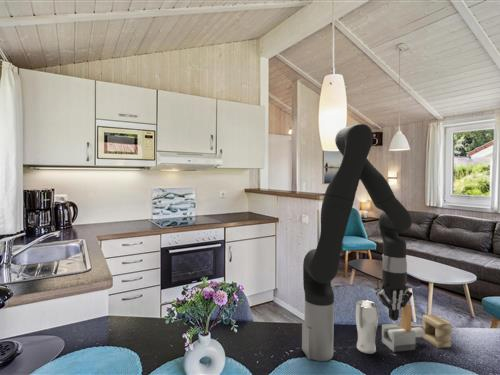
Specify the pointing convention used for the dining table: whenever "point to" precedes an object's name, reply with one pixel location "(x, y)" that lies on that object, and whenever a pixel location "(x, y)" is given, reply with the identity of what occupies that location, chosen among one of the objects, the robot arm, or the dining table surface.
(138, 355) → the dining table surface
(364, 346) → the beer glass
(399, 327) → the gray u-shaped block
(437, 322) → the socket
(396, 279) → the robot arm
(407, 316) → the hammer
